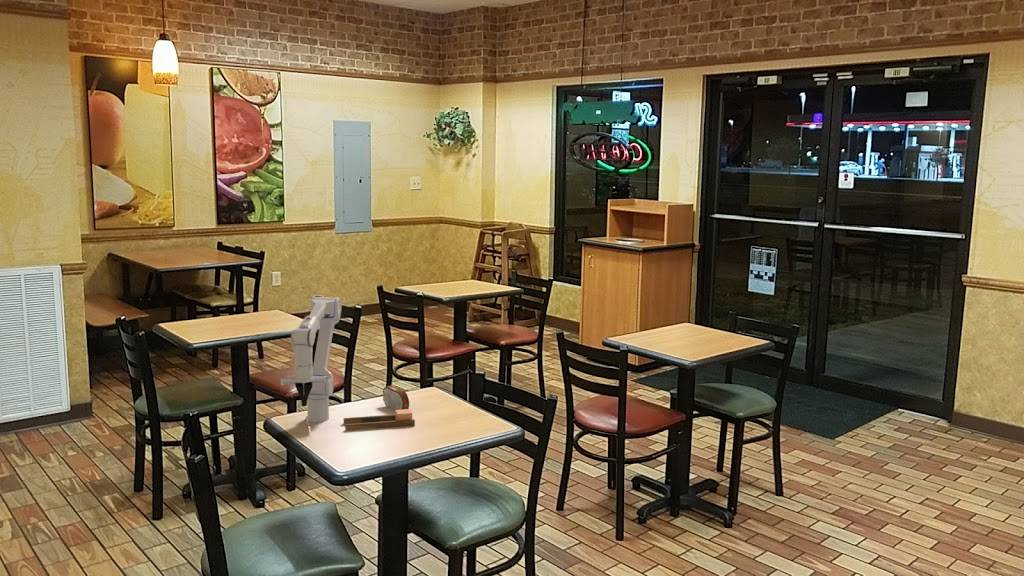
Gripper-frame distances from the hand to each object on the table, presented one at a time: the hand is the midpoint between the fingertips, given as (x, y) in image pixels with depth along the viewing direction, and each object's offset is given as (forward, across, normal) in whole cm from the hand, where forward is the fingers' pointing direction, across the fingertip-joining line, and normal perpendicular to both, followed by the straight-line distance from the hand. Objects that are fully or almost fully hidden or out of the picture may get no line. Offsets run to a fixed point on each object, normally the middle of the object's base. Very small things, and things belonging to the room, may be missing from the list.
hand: (304, 405), depth 267 cm
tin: (+10, +34, +21) cm, 41 cm away
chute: (+10, +25, +1) cm, 27 cm away
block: (+9, +33, +1) cm, 34 cm away
